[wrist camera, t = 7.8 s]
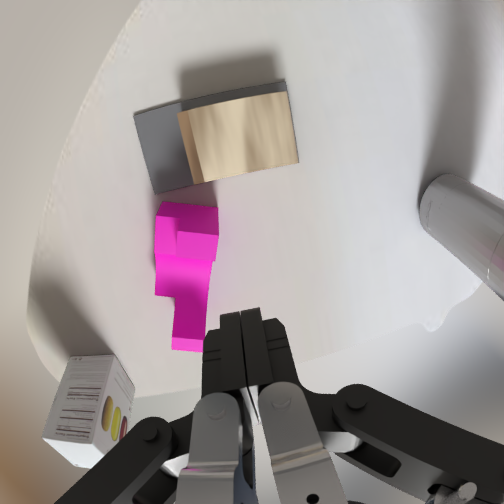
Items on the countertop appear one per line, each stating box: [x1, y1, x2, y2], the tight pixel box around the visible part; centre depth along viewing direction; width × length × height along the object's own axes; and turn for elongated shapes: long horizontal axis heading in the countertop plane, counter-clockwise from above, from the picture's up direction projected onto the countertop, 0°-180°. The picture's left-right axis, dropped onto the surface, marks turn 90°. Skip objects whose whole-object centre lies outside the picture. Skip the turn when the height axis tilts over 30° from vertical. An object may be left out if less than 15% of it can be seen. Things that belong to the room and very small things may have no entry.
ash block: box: [177, 91, 298, 185], centre depth 29 cm, size 4×7×10 cm
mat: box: [133, 82, 299, 194], centre depth 30 cm, size 16×9×1 cm, turn 101°
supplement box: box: [42, 355, 135, 468], centre depth 38 cm, size 10×9×17 cm
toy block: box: [154, 202, 219, 352], centre depth 34 cm, size 15×6×8 cm, turn 170°
